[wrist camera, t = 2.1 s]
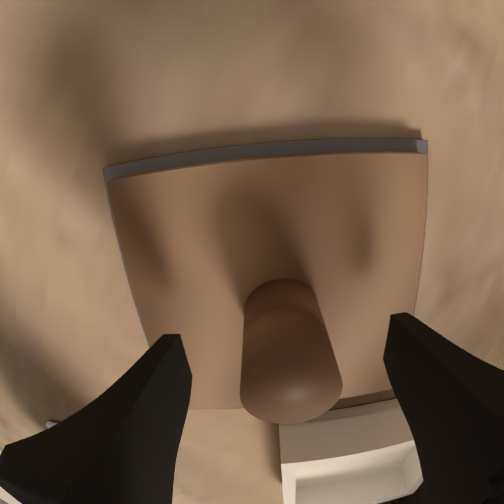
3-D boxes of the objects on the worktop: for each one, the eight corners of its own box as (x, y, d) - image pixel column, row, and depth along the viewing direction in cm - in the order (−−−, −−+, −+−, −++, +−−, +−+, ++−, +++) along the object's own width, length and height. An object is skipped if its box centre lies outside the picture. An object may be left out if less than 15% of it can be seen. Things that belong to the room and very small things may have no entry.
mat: (172, 398, 16) (171, 403, 16) (106, 166, 11) (102, 168, 11) (395, 378, 16) (397, 383, 15) (423, 139, 11) (427, 140, 10)
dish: (282, 485, 21) (284, 518, 18) (278, 416, 17) (280, 463, 14) (403, 463, 20) (413, 493, 17) (441, 386, 16) (462, 423, 13)
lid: (177, 397, 16) (158, 476, 11) (115, 178, 11) (34, 216, 6) (391, 378, 15) (421, 452, 10) (417, 152, 11) (506, 175, 6)
